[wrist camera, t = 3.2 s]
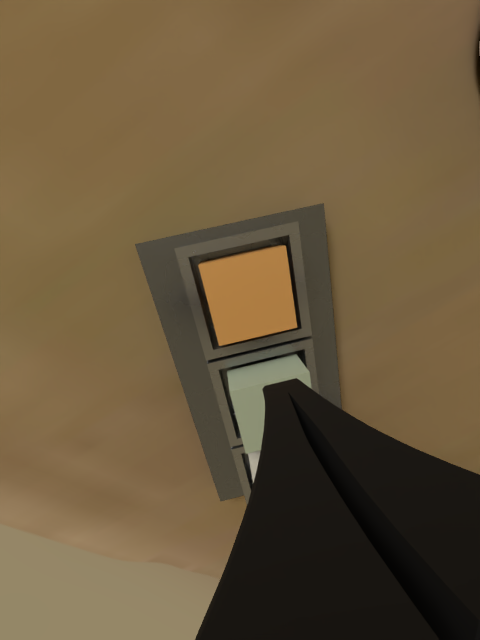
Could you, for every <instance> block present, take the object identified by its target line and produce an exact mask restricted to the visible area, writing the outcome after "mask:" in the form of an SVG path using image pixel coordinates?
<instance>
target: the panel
mask: <svg viewBox="0 0 480 640" xmlns="http://www.w3.org/2000/svg"><path fill="white" fill-rule="evenodd" d="M272 245H283V246H286V250H287V257H288V264H289V271H290V279H291V286H292V293H293V300H294V307H295V314H296V321H297V328H293V329H289V330H285V331H281V332H276V333H272V334H268V335H264V336H260V337H255V338H251V339H247V340H243V341H239V342H234V343H230V344H226V345H222V346H219V343H218V340H217V336H216V332H215V328H214V324H213V320H212V316H211V312H210V309H209V305H208V301H207V297H206V293H205V289H204V285H203V282H202V278H201V274H200V270H199V266H198V265H199V263H200V262H201V261H205V260H210V259H214V258H219V257H223V256H228V255H232V254H237V253H241V252H245V251H250V250H254V249H259V248H263V247H268V246H272ZM135 246H136V249H137V252H138V255H139V258H140V261H141V264H142V267H143V270H144V273H145V276H146V279H147V282H148V285H149V288H150V291H151V294H152V297H153V300H154V303H155V306H156V309H157V312H158V315H159V318H160V321H161V324H162V327H163V330H164V333H165V336H166V339H167V342H168V345H169V348H170V351H171V354H172V357H173V360H174V363H175V366H176V369H177V372H178V375H179V378H180V381H181V384H182V387H183V390H184V393H185V396H186V399H187V402H188V405H189V408H190V411H191V414H192V417H193V420H194V423H195V426H196V429H197V432H198V435H199V438H200V441H201V444H202V447H203V450H204V453H205V456H206V459H207V462H208V465H209V468H210V471H211V474H212V477H213V480H214V483H215V486H216V489H217V492H218V495H219V498H220V501H224V500H228V499H232V498H236V497H239V496H243V495H244V496H245V500H246V503H247V504H248V501H249V497H250V494H251V490H252V487H253V479H252V474H251V468H250V462H249V457H248V454H246V453H245V449H244V445H243V442H242V438H241V434H240V430H239V426H238V422H237V419H236V415H235V411H234V407H233V403H232V399H231V396H230V392H229V384H228V376H227V371H228V370H232V369H236V368H240V367H245V366H249V365H253V364H257V363H261V362H265V361H269V360H273V359H278V358H282V357H286V356H290V355H294V354H296V355H297V356H298V357H299V359H300V360H301V361H302V363H303V364H304V365H305V367H306V368H307V369H308V371H309V372H310V380H311V388H312V390H314V391H315V392H317V393H318V394H319V395H321V396H322V397H324V398H325V399H326V400H328V401H329V402H331V403H332V404H334V405H336V406H337V407H339V408H340V409H342V407H341V396H340V384H339V373H338V361H337V350H336V338H335V327H334V315H333V304H332V292H331V281H330V269H329V258H328V246H327V235H326V223H325V212H324V203H323V204H318V205H314V206H309V207H304V208H300V209H295V210H291V211H286V212H281V213H277V214H272V215H268V216H263V217H258V218H254V219H249V220H245V221H240V222H235V223H231V224H226V225H222V226H217V227H212V228H208V229H203V230H199V231H194V232H189V233H185V234H180V235H176V236H171V237H166V238H162V239H157V240H153V241H148V242H143V243H139V244H135Z"/></svg>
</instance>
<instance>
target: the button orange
mask: <svg viewBox="0 0 480 640" xmlns="http://www.w3.org/2000/svg"><path fill="white" fill-rule="evenodd" d="M198 266H199V270H200V274H201V278H202V282H203V285H204V289H205V293H206V297H207V301H208V305H209V309H210V312H211V316H212V320H213V324H214V328H215V332H216V336H217V340H218V343H219V346H222V345H226V344H230V343H234V342H239V341H243V340H247V339H251V338H255V337H260V336H264V335H268V334H272V333H276V332H281V331H285V330H289V329H293V328H297V321H296V314H295V307H294V300H293V293H292V286H291V279H290V271H289V264H288V257H287V250H286V246H283V245H272V246H268V247H263V248H259V249H254V250H250V251H245V252H241V253H237V254H232V255H228V256H223V257H219V258H214V259H210V260H205V261H201V262H200V263H199V265H198Z"/></svg>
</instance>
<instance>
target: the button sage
mask: <svg viewBox="0 0 480 640" xmlns="http://www.w3.org/2000/svg"><path fill="white" fill-rule="evenodd" d="M227 376H228V384H229V392H230V396H231V399H232V403H233V407H234V411H235V415H236V419H237V422H238V426H239V430H240V434H241V438H242V442H243V445H244V449H245V453H246V454H248V453H252V452H255V451H259V450H261V445H262V438H263V431H264V419H265V400H264V395H263V390H262V389H263V388H264V386H266V385H270V384H274V383H278V382H282V381H287V380H291V379H295V378H297V379H299V380H300V381H302V382H303V383H304V384H306V385H307V386H308V387H310V388H311V380H310V372H309V371H308V369H307V368H306V367H305V365H304V364H303V363H302V361H301V360H300V359H299V357H298V356H297V355H296V354H294V355H290V356H286V357H282V358H278V359H273V360H269V361H265V362H261V363H257V364H253V365H249V366H245V367H240V368H236V369H232V370H228V371H227ZM311 389H312V388H311Z"/></svg>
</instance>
